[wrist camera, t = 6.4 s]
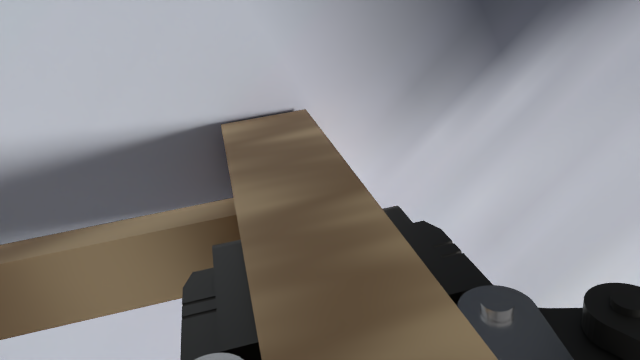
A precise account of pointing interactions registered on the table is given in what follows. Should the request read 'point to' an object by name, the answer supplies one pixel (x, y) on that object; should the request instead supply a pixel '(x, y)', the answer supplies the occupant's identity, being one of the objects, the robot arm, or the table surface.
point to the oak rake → (257, 259)
